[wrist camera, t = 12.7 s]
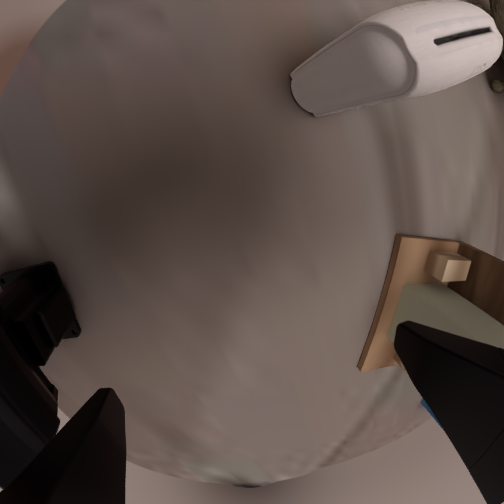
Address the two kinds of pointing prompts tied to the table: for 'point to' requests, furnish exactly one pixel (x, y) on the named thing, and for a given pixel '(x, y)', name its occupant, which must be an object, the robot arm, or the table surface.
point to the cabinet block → (445, 314)
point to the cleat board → (432, 271)
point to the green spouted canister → (500, 5)
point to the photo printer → (398, 57)
